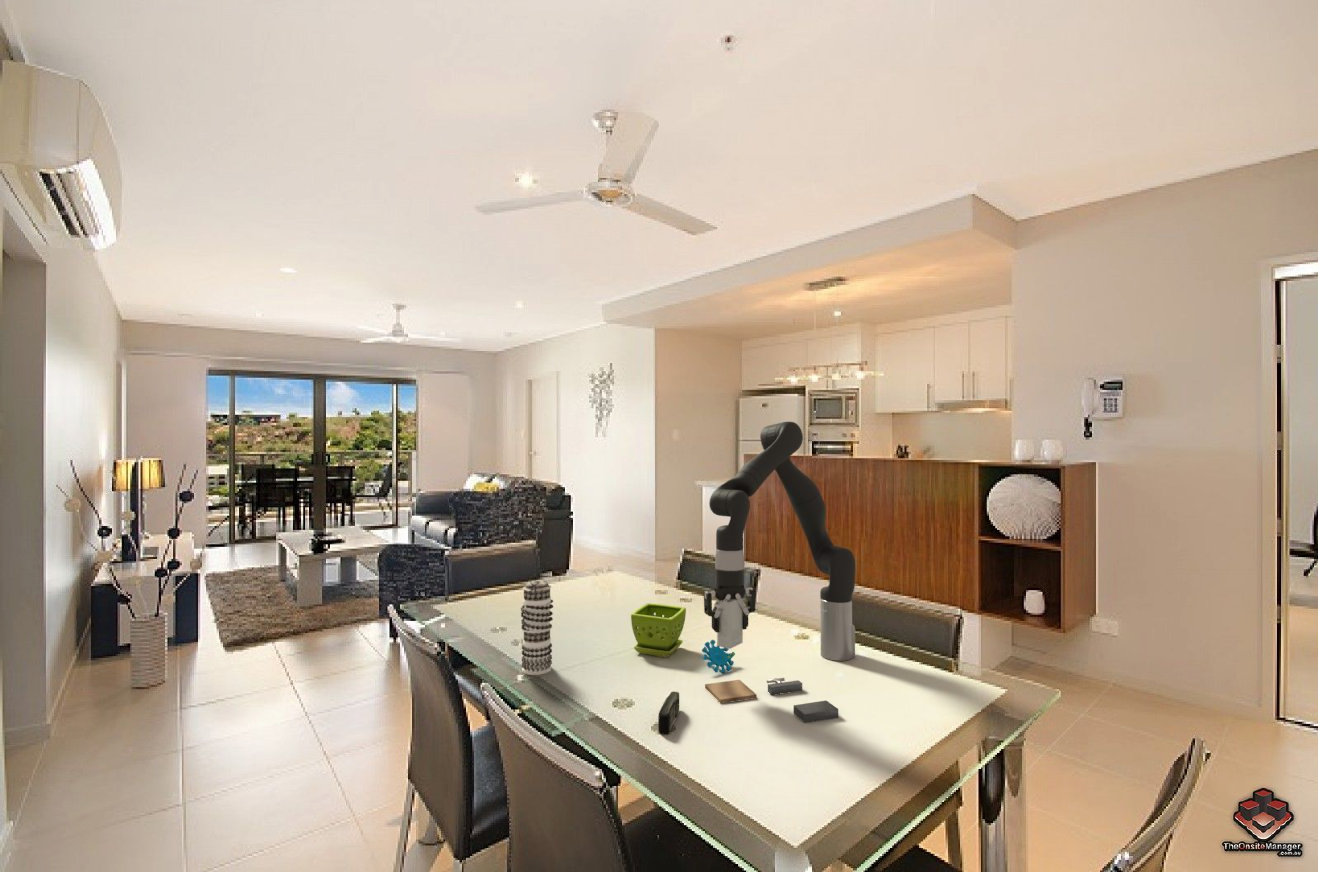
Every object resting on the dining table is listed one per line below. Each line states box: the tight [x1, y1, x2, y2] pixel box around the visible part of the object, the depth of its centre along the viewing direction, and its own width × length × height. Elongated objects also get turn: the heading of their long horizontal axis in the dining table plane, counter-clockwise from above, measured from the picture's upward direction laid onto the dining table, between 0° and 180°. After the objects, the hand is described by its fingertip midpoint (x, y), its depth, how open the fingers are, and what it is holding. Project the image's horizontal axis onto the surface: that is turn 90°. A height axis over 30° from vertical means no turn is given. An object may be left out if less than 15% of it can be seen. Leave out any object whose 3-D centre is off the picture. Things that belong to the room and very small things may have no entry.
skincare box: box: [716, 597, 744, 650], centre depth 154 cm, size 6×4×12 cm
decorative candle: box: [520, 579, 554, 676], centre depth 171 cm, size 9×9×25 cm
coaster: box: [704, 679, 758, 704], centre depth 154 cm, size 10×10×1 cm
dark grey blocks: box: [766, 677, 839, 724], centre depth 149 cm, size 9×22×2 cm, turn 18°
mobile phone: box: [657, 691, 680, 736], centre depth 139 cm, size 5×3×15 cm
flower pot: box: [630, 602, 687, 659], centre depth 186 cm, size 14×14×13 cm
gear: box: [701, 639, 736, 675], centre depth 172 cm, size 11×6×10 cm
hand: (730, 630), depth 154 cm, fingers closed on skincare box, 7 cm apart
